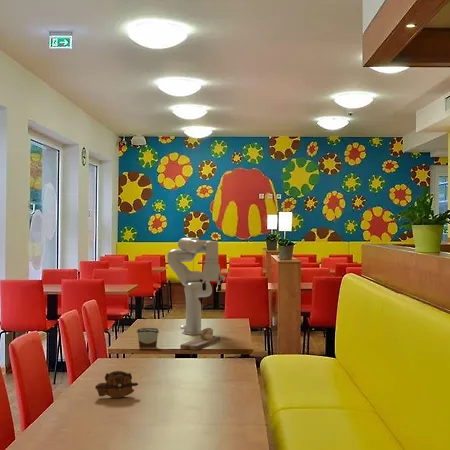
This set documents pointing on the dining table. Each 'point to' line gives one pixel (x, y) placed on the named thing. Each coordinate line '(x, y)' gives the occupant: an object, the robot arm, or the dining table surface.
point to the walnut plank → (199, 343)
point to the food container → (147, 337)
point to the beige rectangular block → (207, 333)
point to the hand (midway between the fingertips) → (211, 290)
